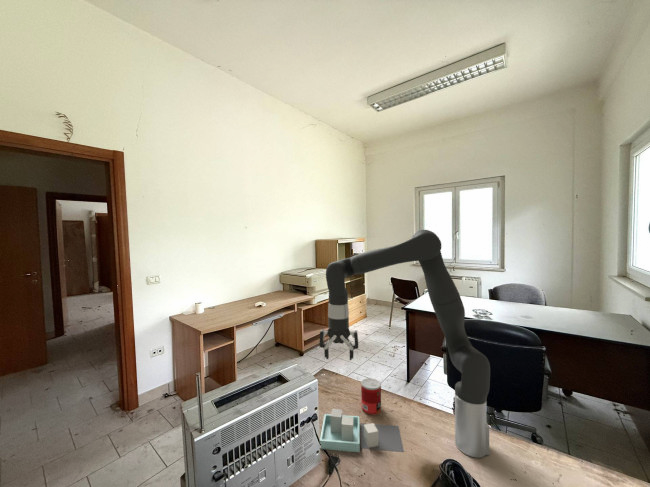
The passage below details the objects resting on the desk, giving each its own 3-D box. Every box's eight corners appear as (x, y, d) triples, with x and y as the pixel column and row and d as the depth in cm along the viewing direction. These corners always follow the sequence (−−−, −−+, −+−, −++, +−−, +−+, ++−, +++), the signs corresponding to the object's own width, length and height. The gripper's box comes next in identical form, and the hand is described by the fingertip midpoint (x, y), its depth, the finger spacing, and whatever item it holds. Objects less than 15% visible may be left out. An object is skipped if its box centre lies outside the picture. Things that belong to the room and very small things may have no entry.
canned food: (381, 416, 103) (381, 389, 103) (360, 414, 105) (360, 387, 104) (381, 404, 111) (380, 378, 110) (362, 402, 112) (361, 377, 112)
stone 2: (353, 433, 94) (353, 417, 93) (353, 442, 90) (353, 425, 89) (342, 432, 94) (342, 416, 94) (341, 441, 90) (341, 424, 90)
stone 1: (342, 425, 98) (342, 409, 98) (341, 433, 94) (340, 417, 94) (332, 424, 99) (332, 408, 98) (330, 432, 94) (330, 415, 94)
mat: (398, 426, 97) (398, 425, 97) (404, 453, 86) (404, 451, 86) (360, 424, 99) (360, 423, 99) (360, 449, 87) (360, 448, 87)
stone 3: (373, 436, 92) (373, 423, 92) (378, 445, 88) (378, 431, 88) (363, 438, 91) (363, 424, 91) (368, 447, 88) (368, 433, 87)
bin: (359, 424, 99) (359, 416, 99) (359, 453, 86) (359, 443, 86) (324, 422, 101) (324, 414, 100) (319, 449, 87) (319, 440, 87)
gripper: (317, 317, 93) (318, 362, 94) (357, 318, 92) (358, 364, 92) (320, 311, 101) (321, 353, 101) (357, 312, 99) (358, 355, 99)
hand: (339, 358), depth 97 cm, fingers open, 8 cm apart
